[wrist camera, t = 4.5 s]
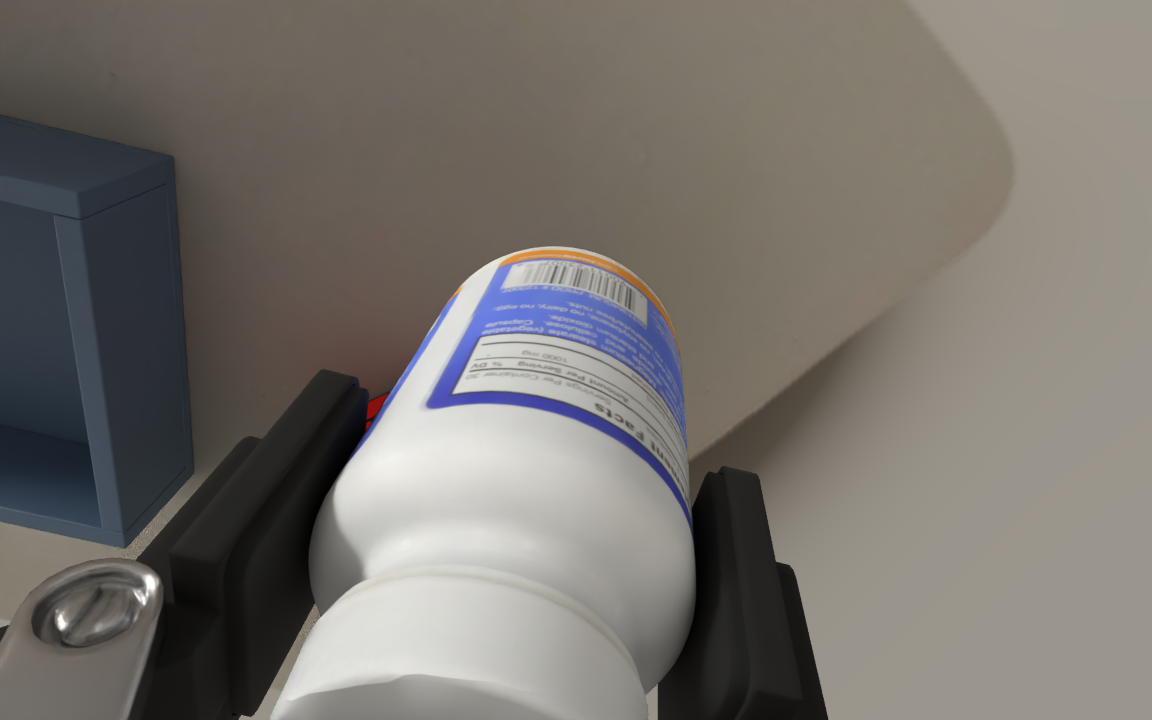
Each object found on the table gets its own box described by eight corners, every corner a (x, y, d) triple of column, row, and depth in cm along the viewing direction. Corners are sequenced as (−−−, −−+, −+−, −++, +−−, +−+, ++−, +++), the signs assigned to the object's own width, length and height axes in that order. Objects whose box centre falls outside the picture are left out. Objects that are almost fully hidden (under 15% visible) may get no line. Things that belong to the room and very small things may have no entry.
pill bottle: (535, 482, 17) (424, 963, 9) (392, 319, 16) (81, 736, 7) (728, 384, 15) (814, 882, 7) (591, 185, 14) (486, 542, 5)
